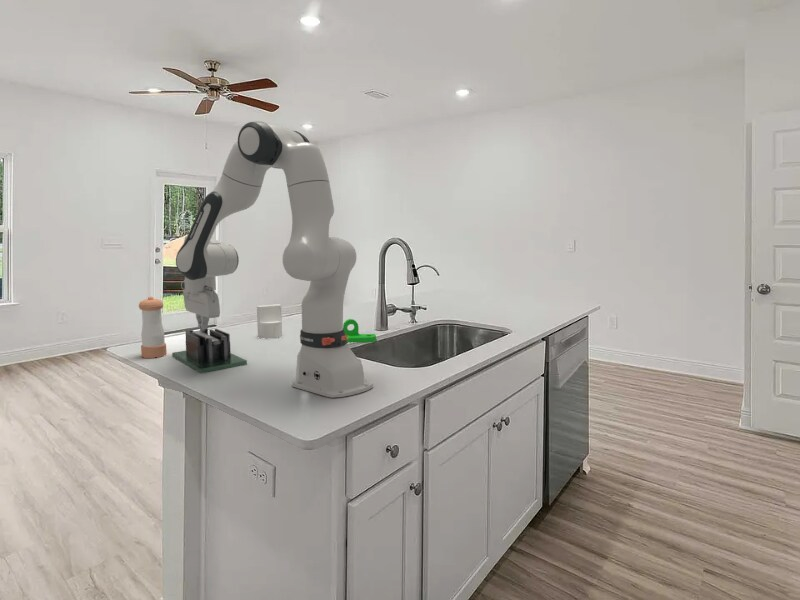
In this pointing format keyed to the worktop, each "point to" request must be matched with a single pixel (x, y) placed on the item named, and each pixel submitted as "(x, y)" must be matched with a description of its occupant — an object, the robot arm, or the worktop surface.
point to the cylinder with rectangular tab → (269, 321)
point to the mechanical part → (354, 334)
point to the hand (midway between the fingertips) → (203, 328)
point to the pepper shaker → (152, 329)
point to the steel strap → (214, 340)
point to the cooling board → (208, 352)
